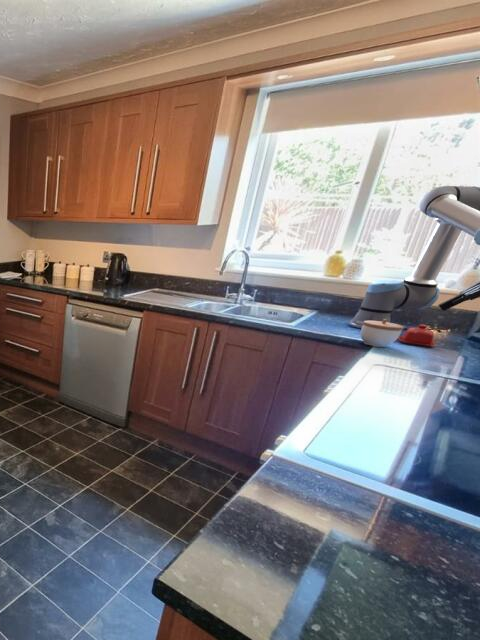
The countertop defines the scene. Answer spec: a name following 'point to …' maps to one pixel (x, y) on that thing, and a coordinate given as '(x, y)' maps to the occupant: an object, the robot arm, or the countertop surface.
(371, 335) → the lidded bowl
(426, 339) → the butter dish
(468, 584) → the countertop surface
